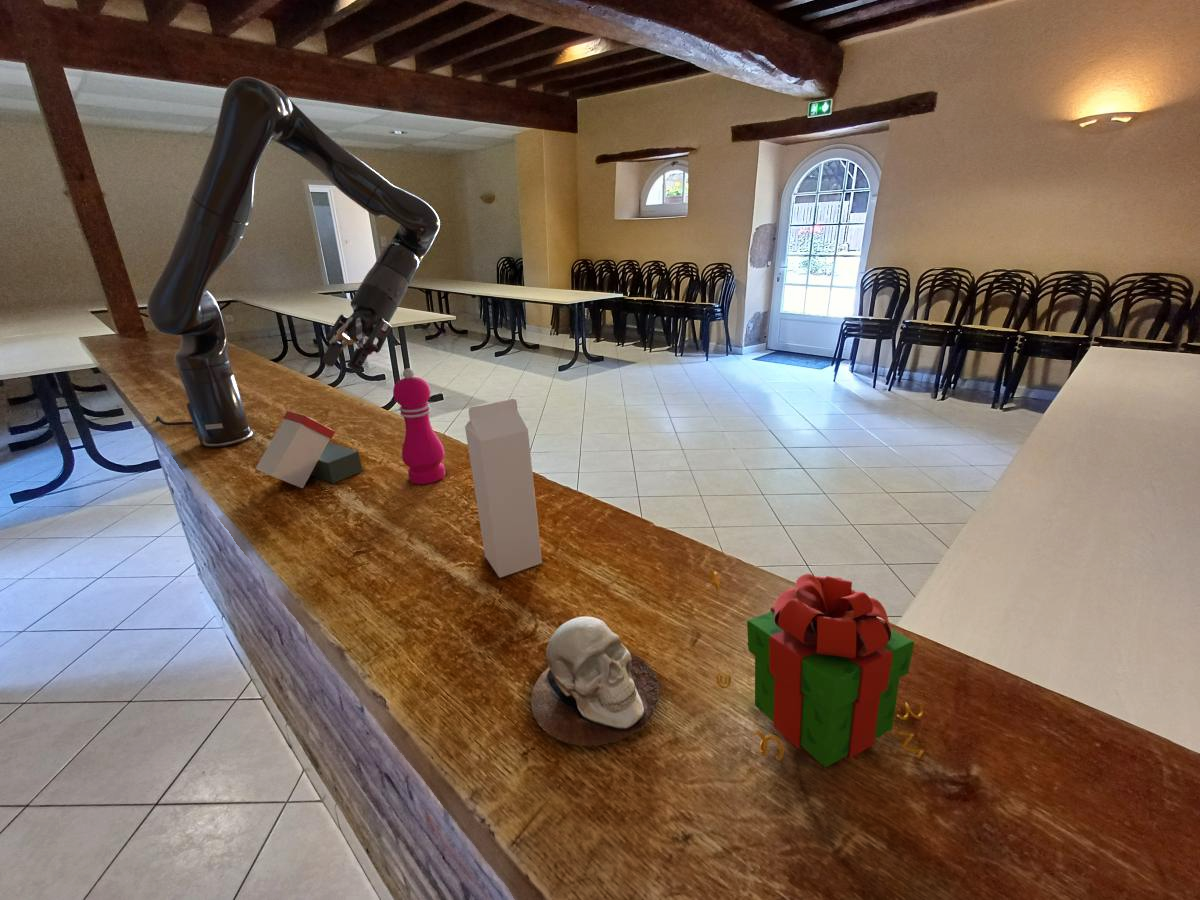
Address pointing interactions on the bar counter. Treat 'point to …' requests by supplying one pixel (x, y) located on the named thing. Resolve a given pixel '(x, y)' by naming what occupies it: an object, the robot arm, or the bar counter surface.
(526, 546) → the milk
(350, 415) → the bar counter surface
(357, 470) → the block
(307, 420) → the container
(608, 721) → the skull
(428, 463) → the pepper mill
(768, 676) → the gift wrap
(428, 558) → the bar counter surface
